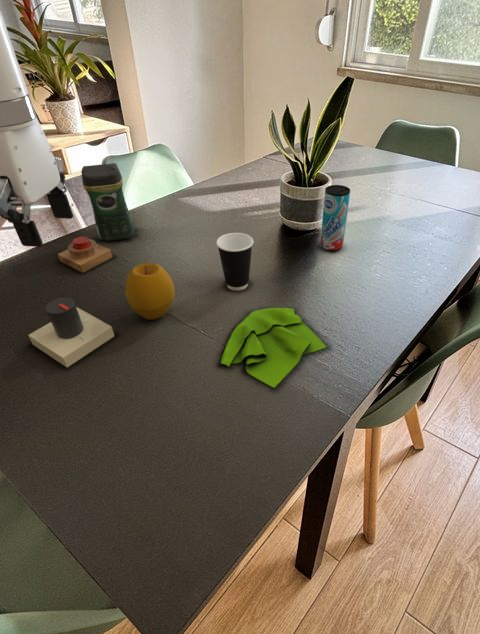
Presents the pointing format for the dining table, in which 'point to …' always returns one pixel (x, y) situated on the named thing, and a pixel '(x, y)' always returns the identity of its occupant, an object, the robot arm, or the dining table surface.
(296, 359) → the cloth
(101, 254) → the button block
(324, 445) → the dining table surface
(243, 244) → the dixie cup
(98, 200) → the coffee jar
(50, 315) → the knob
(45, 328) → the panel
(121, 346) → the dining table surface
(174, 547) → the dining table surface
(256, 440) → the dining table surface
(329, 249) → the beverage can
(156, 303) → the apple
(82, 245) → the button
